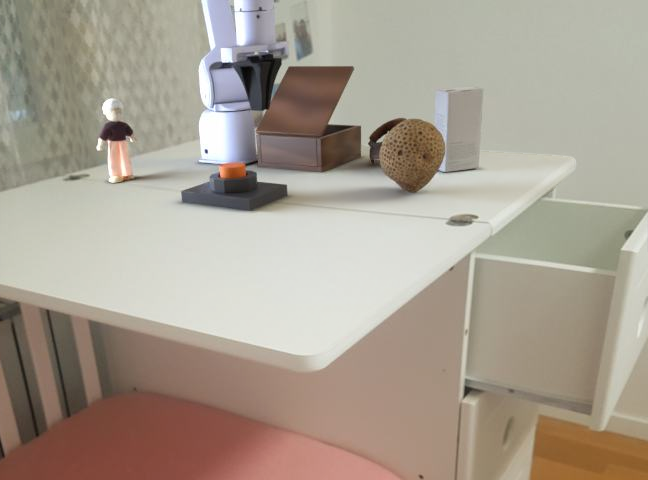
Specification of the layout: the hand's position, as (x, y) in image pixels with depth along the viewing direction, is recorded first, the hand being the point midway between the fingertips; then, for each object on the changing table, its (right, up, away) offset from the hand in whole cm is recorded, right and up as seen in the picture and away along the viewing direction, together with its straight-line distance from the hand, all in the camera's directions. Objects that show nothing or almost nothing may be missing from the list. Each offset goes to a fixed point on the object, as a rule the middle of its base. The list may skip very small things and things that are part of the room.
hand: (260, 109), depth 109 cm
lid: (+7, +5, +10) cm, 13 cm away
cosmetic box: (+31, -8, +4) cm, 32 cm away
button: (-4, -12, -9) cm, 15 cm away
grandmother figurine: (-23, -9, +9) cm, 26 cm away
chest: (+8, -4, +15) cm, 17 cm away
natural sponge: (+21, -15, -8) cm, 27 cm away
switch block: (-3, -15, -7) cm, 17 cm away
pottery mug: (+23, -6, +10) cm, 26 cm away
